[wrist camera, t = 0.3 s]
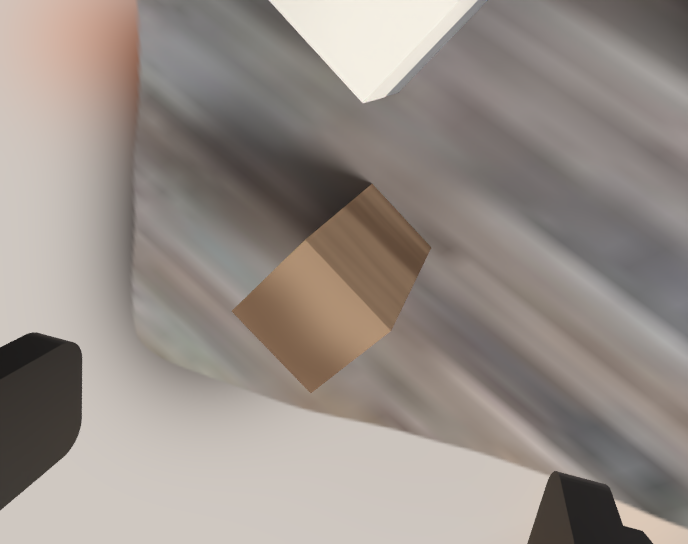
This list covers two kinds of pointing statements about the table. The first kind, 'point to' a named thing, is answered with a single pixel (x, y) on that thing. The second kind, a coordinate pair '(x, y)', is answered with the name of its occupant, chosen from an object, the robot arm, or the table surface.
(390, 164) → the table surface
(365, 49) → the tower top slab
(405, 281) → the walnut block
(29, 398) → the robot arm
